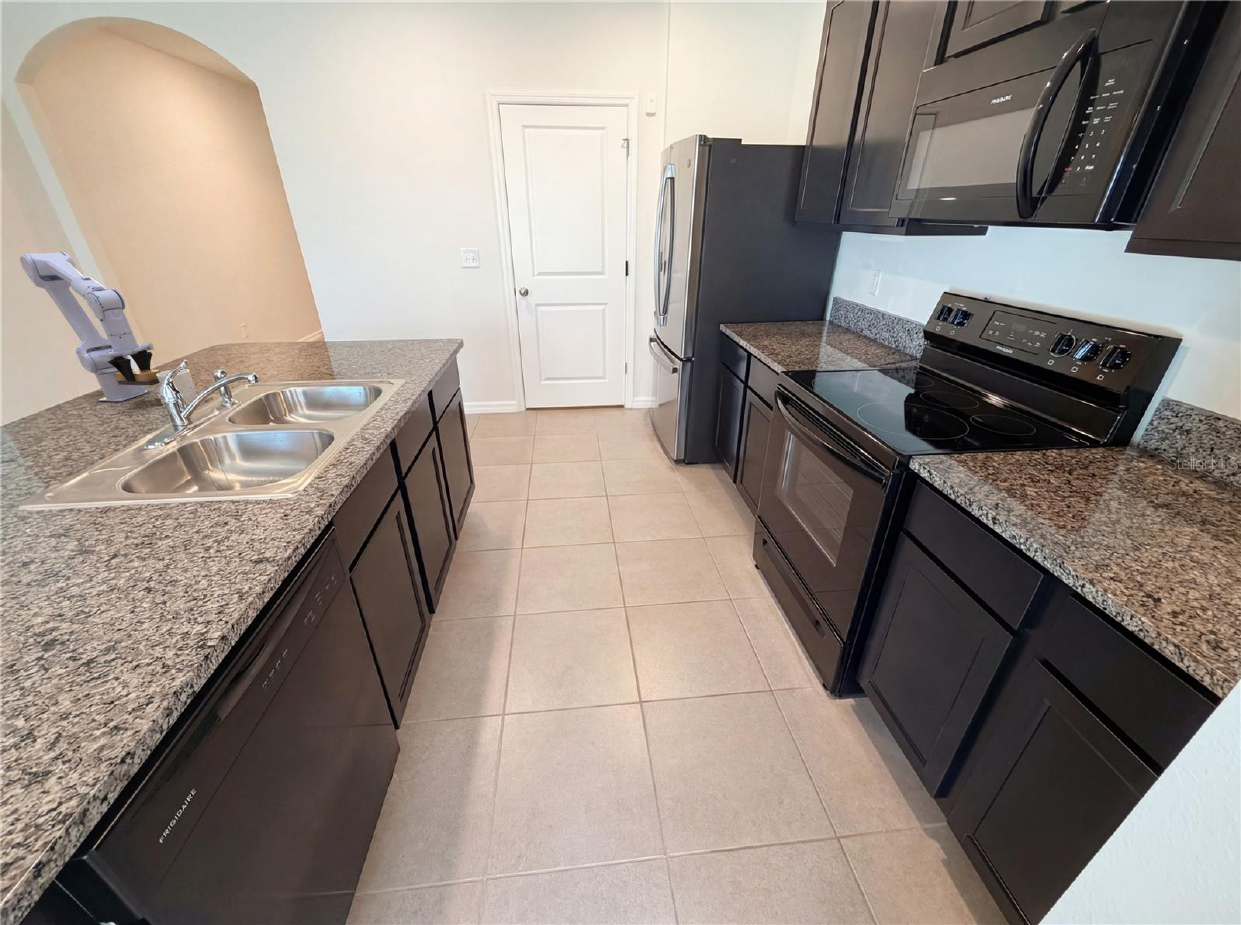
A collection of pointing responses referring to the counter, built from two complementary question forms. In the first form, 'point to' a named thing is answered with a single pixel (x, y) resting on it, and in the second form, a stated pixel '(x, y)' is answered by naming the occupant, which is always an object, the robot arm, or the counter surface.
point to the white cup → (181, 383)
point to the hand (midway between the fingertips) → (139, 378)
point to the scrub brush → (139, 377)
